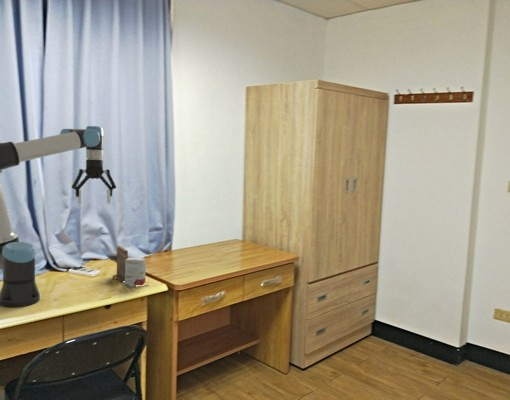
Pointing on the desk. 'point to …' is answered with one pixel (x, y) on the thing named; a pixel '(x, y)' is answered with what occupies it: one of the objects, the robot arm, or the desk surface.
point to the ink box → (135, 271)
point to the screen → (121, 263)
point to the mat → (130, 285)
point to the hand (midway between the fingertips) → (94, 203)
